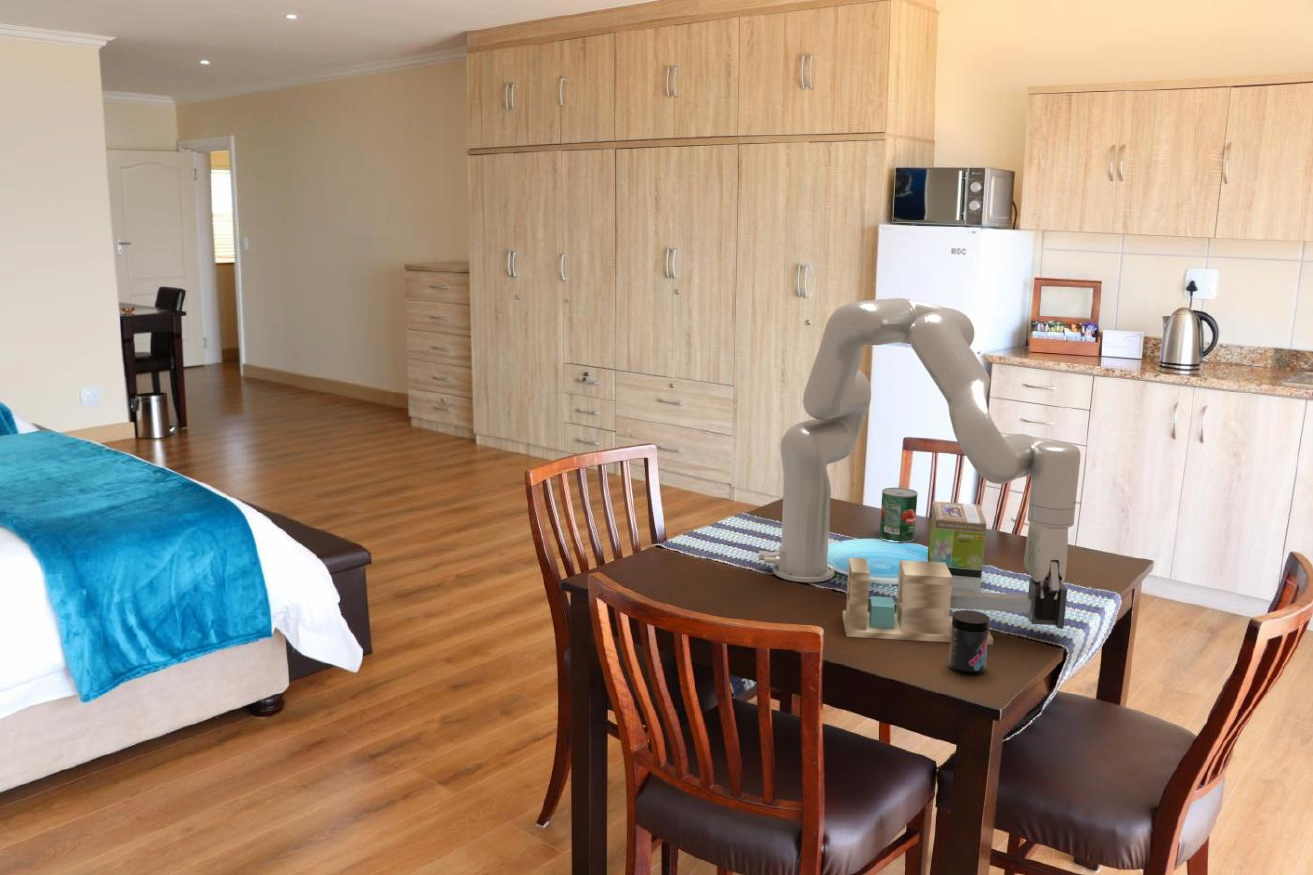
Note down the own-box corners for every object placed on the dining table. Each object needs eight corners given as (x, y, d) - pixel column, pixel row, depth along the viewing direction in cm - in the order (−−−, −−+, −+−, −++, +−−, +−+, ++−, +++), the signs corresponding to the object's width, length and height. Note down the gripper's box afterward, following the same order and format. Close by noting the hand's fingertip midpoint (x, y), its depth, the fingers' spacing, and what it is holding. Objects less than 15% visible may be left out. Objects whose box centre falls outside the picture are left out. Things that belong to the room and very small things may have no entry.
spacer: (893, 629, 189) (870, 627, 190) (891, 618, 194) (869, 617, 194) (894, 607, 188) (871, 605, 189) (893, 597, 193) (870, 596, 194)
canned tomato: (878, 532, 250) (881, 486, 248) (912, 534, 249) (916, 488, 247) (880, 542, 242) (883, 495, 240) (916, 544, 241) (919, 496, 239)
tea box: (981, 595, 210) (987, 522, 206) (928, 591, 211) (933, 518, 208) (975, 571, 224) (980, 502, 221) (925, 567, 226) (930, 499, 223)
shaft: (912, 620, 188) (915, 582, 186) (907, 606, 194) (910, 569, 193) (1063, 628, 185) (1067, 590, 184) (1053, 614, 192) (1056, 576, 190)
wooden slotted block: (846, 636, 188) (849, 573, 186) (842, 615, 198) (845, 555, 195) (992, 644, 185) (998, 581, 183) (981, 623, 195) (986, 562, 193)
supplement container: (962, 678, 172) (967, 625, 170) (940, 664, 177) (944, 612, 175) (993, 673, 174) (997, 620, 172) (970, 659, 179) (974, 608, 177)
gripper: (1017, 500, 193) (1009, 596, 197) (1040, 526, 177) (1030, 631, 181) (1060, 502, 193) (1051, 599, 196) (1087, 529, 176) (1076, 634, 180)
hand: (1041, 613), depth 189 cm, fingers closed on shaft, 4 cm apart
